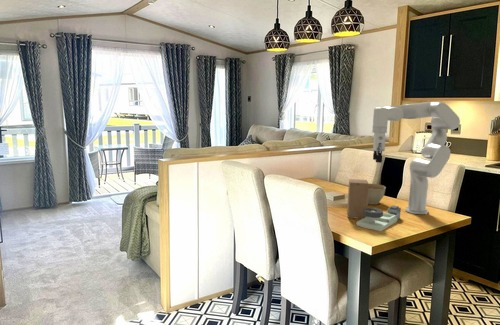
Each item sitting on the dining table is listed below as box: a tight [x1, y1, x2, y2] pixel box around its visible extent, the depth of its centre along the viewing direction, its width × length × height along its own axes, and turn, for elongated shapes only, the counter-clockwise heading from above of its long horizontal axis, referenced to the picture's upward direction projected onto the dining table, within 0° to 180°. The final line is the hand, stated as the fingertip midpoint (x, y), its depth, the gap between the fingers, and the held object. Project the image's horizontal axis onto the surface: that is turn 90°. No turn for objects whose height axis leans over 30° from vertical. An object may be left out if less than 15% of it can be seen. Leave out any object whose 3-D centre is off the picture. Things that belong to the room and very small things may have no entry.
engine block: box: [386, 205, 402, 221], centre depth 213 cm, size 6×5×7 cm
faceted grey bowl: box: [363, 207, 384, 218], centre depth 198 cm, size 9×9×2 cm
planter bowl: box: [367, 182, 387, 206], centre depth 245 cm, size 16×16×11 cm
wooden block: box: [346, 178, 369, 219], centre depth 216 cm, size 10×10×20 cm
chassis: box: [356, 211, 398, 232], centre depth 203 cm, size 22×13×8 cm, turn 139°
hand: (377, 161), depth 212 cm, fingers open, 9 cm apart
